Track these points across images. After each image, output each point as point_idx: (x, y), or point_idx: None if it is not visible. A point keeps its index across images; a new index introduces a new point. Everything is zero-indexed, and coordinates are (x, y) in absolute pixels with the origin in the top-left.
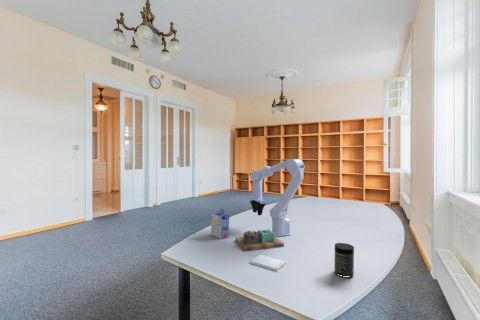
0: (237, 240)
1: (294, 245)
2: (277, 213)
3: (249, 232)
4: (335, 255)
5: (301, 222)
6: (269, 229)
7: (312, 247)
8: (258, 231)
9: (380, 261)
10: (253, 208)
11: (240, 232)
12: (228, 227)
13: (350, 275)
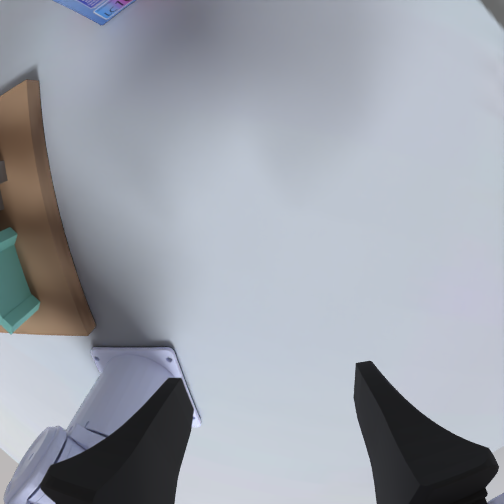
0: (4, 96)
1: (15, 365)
2: (22, 462)
3: None
4: None
5: (336, 497)
6: (8, 330)
7: (19, 401)
8: None
9: (3, 446)
10: (372, 406)
11: (202, 117)
12: (57, 1)
13: None
